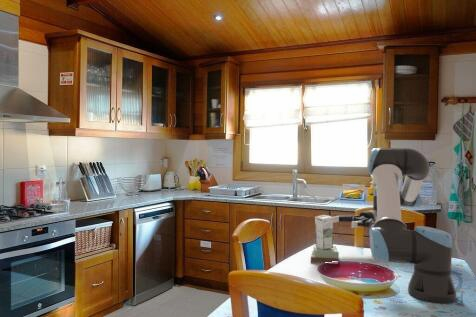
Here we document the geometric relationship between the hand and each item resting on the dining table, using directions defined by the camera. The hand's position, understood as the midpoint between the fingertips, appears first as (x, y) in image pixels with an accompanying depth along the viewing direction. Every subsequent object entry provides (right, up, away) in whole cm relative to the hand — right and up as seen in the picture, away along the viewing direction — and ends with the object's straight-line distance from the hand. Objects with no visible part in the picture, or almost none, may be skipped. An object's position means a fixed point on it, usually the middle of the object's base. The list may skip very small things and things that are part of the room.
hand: (340, 222), depth 188 cm
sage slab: (-8, -14, -6) cm, 17 cm away
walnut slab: (-8, -17, -5) cm, 20 cm away
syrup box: (-9, -11, -6) cm, 15 cm away
